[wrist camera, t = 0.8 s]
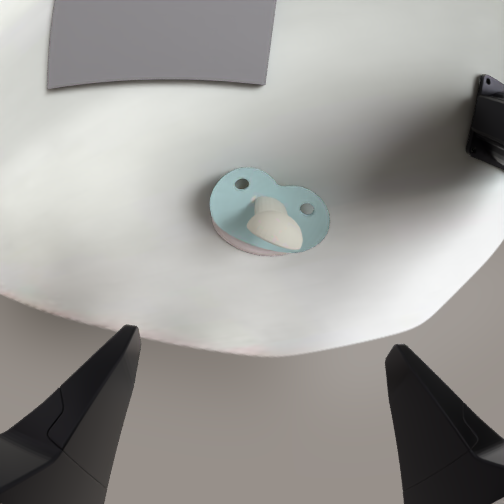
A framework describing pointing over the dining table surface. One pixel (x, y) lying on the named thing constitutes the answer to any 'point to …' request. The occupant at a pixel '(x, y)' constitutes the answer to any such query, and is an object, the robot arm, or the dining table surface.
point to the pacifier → (266, 214)
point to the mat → (159, 40)
